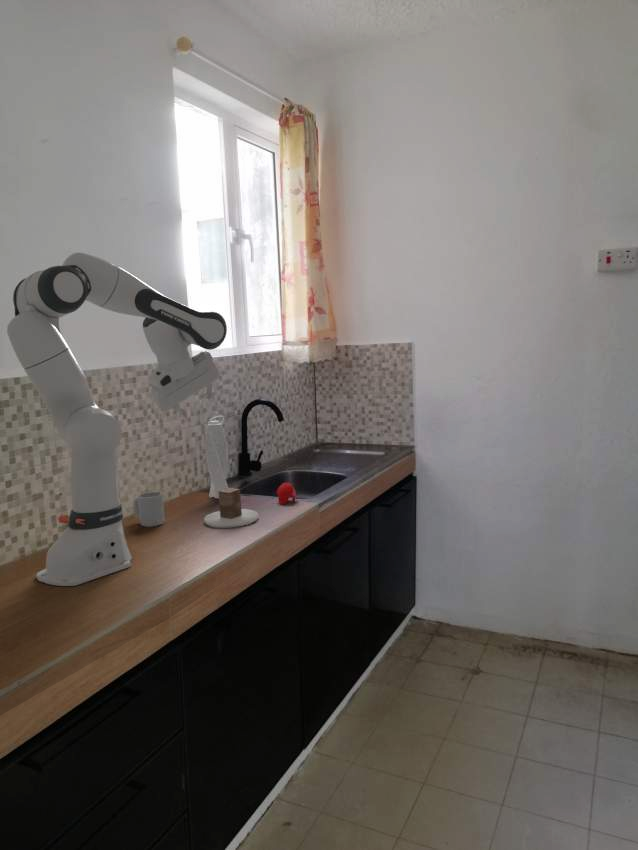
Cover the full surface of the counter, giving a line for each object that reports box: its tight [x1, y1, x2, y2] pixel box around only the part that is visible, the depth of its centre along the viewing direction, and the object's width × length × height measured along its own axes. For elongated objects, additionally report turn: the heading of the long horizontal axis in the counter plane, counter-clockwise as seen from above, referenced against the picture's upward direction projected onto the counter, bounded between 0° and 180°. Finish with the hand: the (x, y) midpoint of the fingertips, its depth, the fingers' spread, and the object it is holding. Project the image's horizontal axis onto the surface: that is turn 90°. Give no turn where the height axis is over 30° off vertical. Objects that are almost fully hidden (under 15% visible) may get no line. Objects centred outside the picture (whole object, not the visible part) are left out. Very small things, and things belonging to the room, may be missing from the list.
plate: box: [204, 508, 259, 529], centre depth 188 cm, size 16×16×1 cm
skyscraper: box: [204, 414, 229, 500], centre depth 216 cm, size 8×8×28 cm
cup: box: [133, 491, 166, 528], centre depth 188 cm, size 7×10×9 cm
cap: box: [276, 482, 297, 505], centre depth 206 cm, size 8×6×6 cm
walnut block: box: [218, 487, 242, 519], centre depth 188 cm, size 4×4×8 cm
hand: (197, 406), depth 182 cm, fingers open, 8 cm apart
